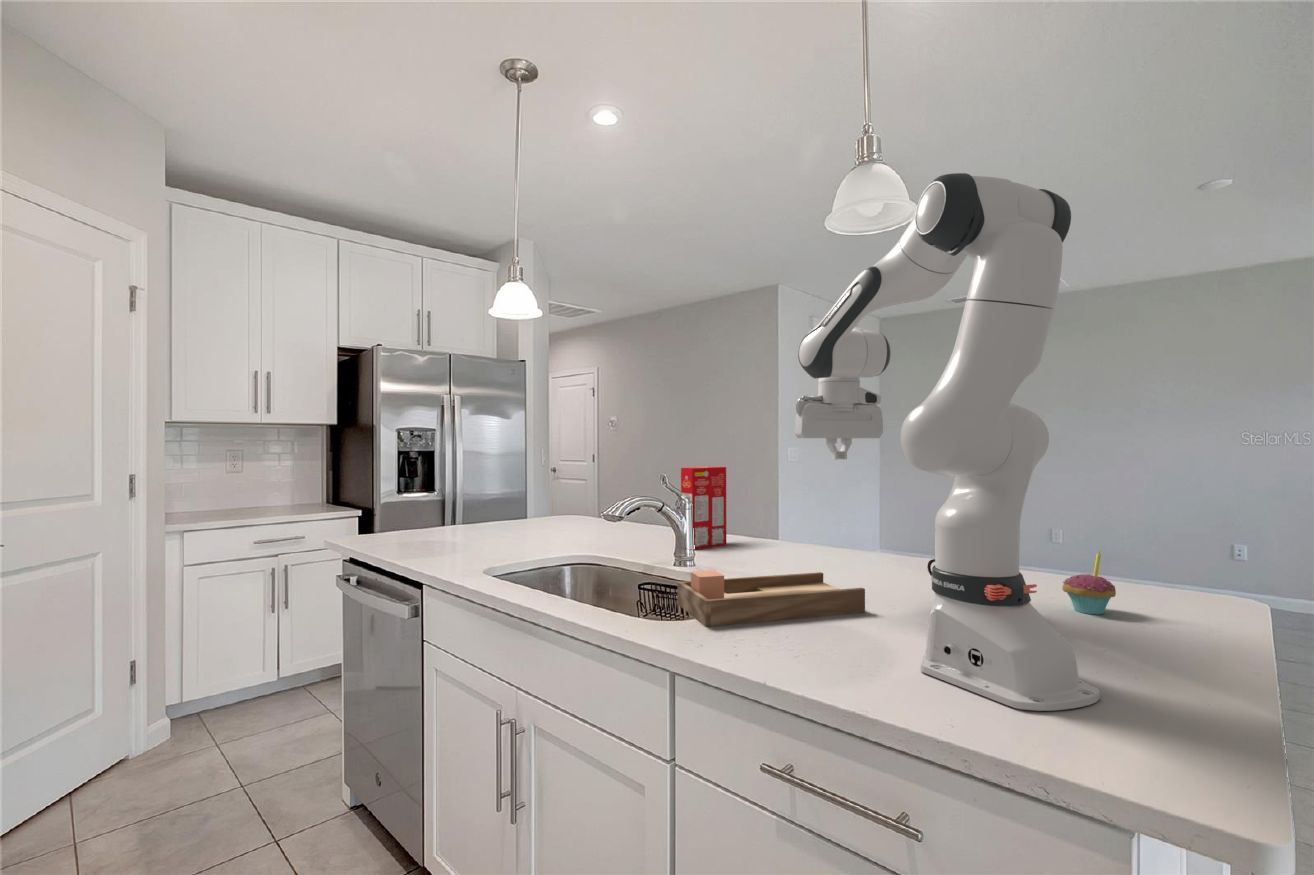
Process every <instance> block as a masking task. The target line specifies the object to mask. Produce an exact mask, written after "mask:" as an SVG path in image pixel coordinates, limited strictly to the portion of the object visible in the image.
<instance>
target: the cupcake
mask: <svg viewBox="0 0 1314 875" xmlns="http://www.w3.org/2000/svg"><path fill="white" fill-rule="evenodd" d="M1101 550H1102V549H1099V551H1098V553H1096V556H1095V563H1094V569H1093V574H1089V573H1088V574H1085V573H1083V574H1078V575H1071V576H1069V577H1068V578H1066V579H1065V580H1064V581H1062V582H1063V585H1062V589H1061V590H1062V591H1063V592H1065V593H1067V596H1069V598H1070V600H1071V603H1072V606H1073V610H1074V611H1076V612H1078V613H1081V614H1087V615H1103V614H1104V613H1105V611H1106V609H1107V606H1108V603H1109V602H1110V600H1111V598H1114V597H1116V594H1117V591H1116V586H1115V585H1114V584H1112V582H1110V581H1109V580H1107V579H1106V578H1105V577H1103V576H1098V574H1099V568H1100V563H1101V562H1100V561H1101V557H1102V555H1101Z"/></svg>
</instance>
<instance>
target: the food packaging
mask: <svg viewBox="0 0 1314 875" xmlns="http://www.w3.org/2000/svg"><path fill="white" fill-rule="evenodd" d="M681 492H682V493H683V494H685V495H686V496H687V497H689V498H690V501H692V504H693V528H694V545H695V549H696V550H695V551H697V550H704V549H709V548H717V547H724V546H727V467H726V466H694V467H693V466H692V467H690V466H689V467H680V493H681Z"/></svg>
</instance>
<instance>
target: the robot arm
mask: <svg viewBox="0 0 1314 875" xmlns="http://www.w3.org/2000/svg"><path fill="white" fill-rule="evenodd" d="M1071 222H1072V212H1071V207H1070V205H1069V203H1068V201H1067V200H1066V199H1065V198H1063V197H1062V196H1060V195H1058V193H1054V192H1053V191H1051V190H1048V189H1045V188H1039V189H1038V188H1035V187H1032V186H1028V185H1025V184H1022V183H1018V182H1014V181H1012V180H1009V179H1008V178H1007V179H1006V178H999V177H996V176H995V177H994V176H982V175H971V174H969V173H965V172H961V173H960V172H956V173H947V174H941V175H940V176H938V177H936V178H934V179H933V180H932V182H930V184H929V185H927V187H926V188H925V189H924V190H923V192H922V194H921V196H920V198H919V199H918V203H917V205H916V208H915V213H914V218H912V220H911V221H910V223H909V225H908V226H907V227H906V229H905V230H904V232H903V233H902V235H901V237H900V238H899V240H898V241H897V242H896V244H895V245H894V246H893V247H892V248H891V249H890V251H888V252H887V253H886V254H885V255H884V256H883V257H882V258H881V259H880V260H878V261H877V262H876V263H874V264H873V265H872V266H870V267H868V268H866V269H864V270H862V271H861V272H860V273H859V274H857V276H856V277H855V278H854V279H853V281H851V283H849V285H848V287H847V288H846V289H845V290H844V292H842V294H841V295H840V296H839V298H837V300H836V301H835V303H834V304H833V305H832V306H831V307H830V309H829V310H828V312H826V314H825V315H824V316H823V318H822V319H821V320H820V321H819V322H818V323H817V324H816V325H815V326H813V327H812V329H810V330H809V331H808V332H807V333H806V334H805V335H804V336H803V338H802V340H801V342H800V344H799V348H798V355H797V356H798V357H797V358H798V361H799V364H800V366H801V368H802V369H803V370H804V371H805V373H807V375H809V376H810V377H811V378H813V379H818V382H817V389H818V390H817V395H803V396H801V397H800V398H799V399H797V400H796V404H795V412H796V415H795V420H794V421H795V422H794V435H795V436H796V438H797V439H825V444H826V445H827V449H829V451H830V459H831V460H832V461H833V460H836V461H837V460H847V459H848V451H849V450H850V448H851V445H852V444H853V439H880V438H881V437H882V435H883V433H884V420H883V412H882V408H881V407H880V406H878V405H880V404H881V401H882V398H881V395H880V394H878V393H875V392H873V391H871V390H868V389H866V388H863V387H861V381H860V378H873V377H879V376H880V375H881V374H883V372H885V370H886V369H887V368H888V367H889V364H890V360H891V346H890V342H889V341H888V339H887V337H886V336H885V335H884V334H883V333H882V332H878V331H875V330H871V329H870V330H869V329H865V328H862V327H860V326H859V325H858V324H859V323H860V322H861V320H862V319H863V318H865V317H866V316H867V315H869V314H871V313H872V312H875V311H878V310H880V309H883V308H887V307H891V306H895V305H896V306H897V305H902V304H909V303H914V302H919V301H924V300H926V299H929V298H931V297H933V296H934V295H936V294H937V293H938V292H939V291H941V290H943V289H942V288H944V287H945V286H946V285H948V283H949V282H950V281H951V279H953V276H954V275H955V274H956V272H957V271H958V270H959V269H960V267H961V265H962V264H963V263H964V261H965V259H967V257H970V259H971V261H972V264H973V273H972V276H971V280H970V284H969V286H968V287H969V288H968V291H967V295H966V300H965V303H964V307H963V308H964V309H963V312H962V315H961V319H960V324H959V327H958V332H957V334H956V340H955V344H954V347H953V349H952V352H951V355H950V358H949V359H948V362H947V364H946V365H945V368H944V370H943V372H942V374H941V376H940V377H939V379H938V381H937V383H936V384H935V385H934V388H933V389H932V390H931V392H930V393H929V394H928V396H927V397H926V398H925V400H923V402H921V403H920V404H919V405H918V406H917V407H915V408H914V409H912V410H911V411H910V412H909V413H908V415H907V416H906V417H905V419H904V421H903V422H902V425H901V429H900V436H899V438H900V447H901V450H902V452H903V454H904V457H905V459H906V460H907V461H908V462H909V463H910V464H911V465H912V466H913V467H915V468H917V469H918V470H921V471H924V472H927V473H930V474H934V475H938V476H941V477H942V476H944V477H954V481H953V483H952V487H951V490H950V492H949V495H948V497H947V499H946V501H945V502H944V503H943V505H941V506H940V508H939V509H938V510H937V513H936V514H935V518H934V555H935V556H934V557H935V558H934V559H935V562H934V565H933V566H932V568H931V571H932V575H930V579H931V580H930V581H931V590H932V591H933V592H934V597H933V598H934V599H933V603H932V606H931V610H930V612H929V618H928V627H927V634H926V635H927V636H926V645H925V646H926V647H925V651H924V655H923V660H922V661H921V662H920V667H919V668H920V669H919V670H920V671H921V673H923V674H926V675H929V676H932V677H934V678H936V679H939V680H942V681H944V682H947V683H949V684H952V685H955V686H957V687H960V688H962V689H965V690H967V691H970V692H972V693H974V694H978V695H980V696H983V697H985V698H988V699H991V700H993V701H996V702H998V703H1001V704H1003V705H1006V706H1009V707H1011V708H1014V709H1017V710H1025V711H1044V712H1045V711H1047V712H1050V711H1063V710H1071V709H1077V708H1082V707H1086V706H1091V705H1092V704H1095V703H1097V702H1098V701H1099V700H1100V699H1101V694H1100V693H1101V692H1100V689H1099V688H1098V687H1096V686H1094V685H1092V684H1090V683H1088V682H1086V681H1083V680H1082V679H1080V678H1079V673H1078V672H1079V671H1078V665H1077V659H1076V655H1075V651H1074V649H1073V647H1072V645H1071V644H1070V642H1068V640H1066V639H1065V638H1064V637H1063V636H1062V635H1061V634H1060V633H1059V632H1058V631H1057V630H1056V629H1055V628H1054V627H1053V625H1052V624H1050V623H1049V622H1048V620H1046V618H1045V617H1044V616H1043V615H1042V614H1041V613H1040V612H1039V611H1038V610H1037V609H1036V608H1035V607H1034V606H1033V604H1031V601H1032V598H1031V595H1030V594H1036V593H1037V592H1038V591H1037V590H1031V589H1033V588H1036V587H1037V586H1038V585H1037V584H1035V583H1034V584H1026V581H1025V578H1024V576H1023V574H1022V573H1021V572H1020V551H1021V550H1020V543H1021V542H1020V541H1021V540H1020V537H1021V536H1020V535H1021V534H1020V533H1021V531H1020V530H1021V521H1022V520H1021V517H1022V512H1023V506H1024V503H1025V499H1026V496H1027V493H1028V489H1029V485H1030V482H1031V478H1032V475H1033V473H1034V470H1035V467H1036V466H1037V464H1038V463H1039V462H1040V461H1041V459H1042V458H1043V457H1044V456H1045V454H1046V453H1047V450H1048V447H1049V443H1050V435H1049V431H1048V430H1049V429H1048V427H1047V425H1046V423H1045V421H1044V420H1043V419H1042V418H1041V417H1040V416H1039V415H1038V414H1037V413H1035V412H1033V411H1032V410H1029V409H1027V408H1025V407H1022V406H1021V405H1018V404H1015V403H1011V401H1012V399H1013V397H1014V396H1015V394H1016V392H1017V391H1018V389H1019V388H1020V387H1021V385H1022V384H1023V382H1024V381H1025V379H1027V378H1028V376H1030V375H1031V374H1033V373H1034V372H1035V371H1036V370H1037V368H1038V367H1039V365H1040V363H1041V359H1042V356H1043V351H1044V349H1045V345H1046V341H1047V338H1048V332H1049V329H1050V325H1051V322H1052V317H1053V315H1054V311H1055V310H1054V309H1055V306H1056V302H1057V298H1058V294H1059V293H1058V292H1059V288H1060V282H1061V273H1062V264H1063V263H1062V262H1063V244H1064V243H1063V242H1064V241H1065V239H1066V238H1067V235H1068V234H1069V230H1070V227H1071ZM838 439H840V444H842V446H841V448H840V450H838V449H837V446H836V445H837V444H838Z"/></svg>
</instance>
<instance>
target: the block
mask: <svg viewBox="0 0 1314 875" xmlns="http://www.w3.org/2000/svg"><path fill="white" fill-rule="evenodd" d="M724 579H725V575H724V574H722V573H720V572H718V571H717V570H713V569H712V570H698V571H690V581H691V588H692V589H694V590H695V591H697V592H698V593H700V594H701V595H703V596H704V597H706V598H707V599H721V598H724Z"/></svg>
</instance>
